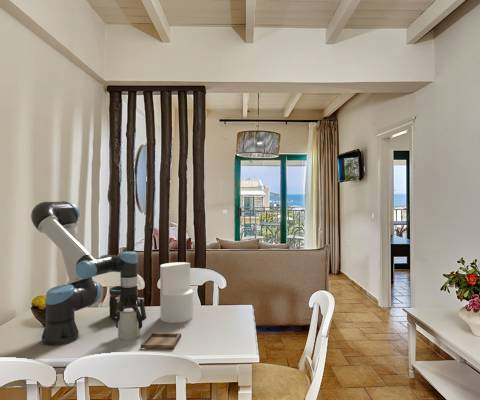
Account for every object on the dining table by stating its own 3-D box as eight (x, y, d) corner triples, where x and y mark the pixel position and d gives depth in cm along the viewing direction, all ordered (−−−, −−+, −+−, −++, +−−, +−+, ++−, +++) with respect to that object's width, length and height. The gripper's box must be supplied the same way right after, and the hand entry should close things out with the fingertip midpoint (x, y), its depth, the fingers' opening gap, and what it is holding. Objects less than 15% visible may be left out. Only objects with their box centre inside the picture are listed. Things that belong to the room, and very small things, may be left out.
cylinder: (154, 317, 196) (154, 264, 196) (181, 310, 207) (181, 261, 207) (171, 325, 183) (171, 269, 183) (199, 317, 194) (199, 265, 194)
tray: (140, 348, 154) (140, 344, 154) (151, 336, 168) (151, 332, 168) (173, 349, 152) (173, 345, 153) (181, 337, 166) (181, 333, 166)
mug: (115, 311, 206) (115, 284, 206) (138, 312, 204) (138, 285, 204) (98, 323, 186) (98, 293, 186) (123, 323, 185) (123, 294, 185)
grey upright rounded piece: (133, 340, 162) (132, 313, 162) (116, 339, 164) (116, 312, 164) (141, 334, 170) (141, 308, 170) (125, 333, 172) (125, 307, 172)
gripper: (103, 287, 164) (103, 337, 164) (148, 287, 163) (148, 338, 163) (110, 283, 172) (110, 331, 172) (153, 284, 170) (154, 332, 170)
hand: (129, 335), depth 167 cm, fingers closed on grey upright rounded piece, 8 cm apart
